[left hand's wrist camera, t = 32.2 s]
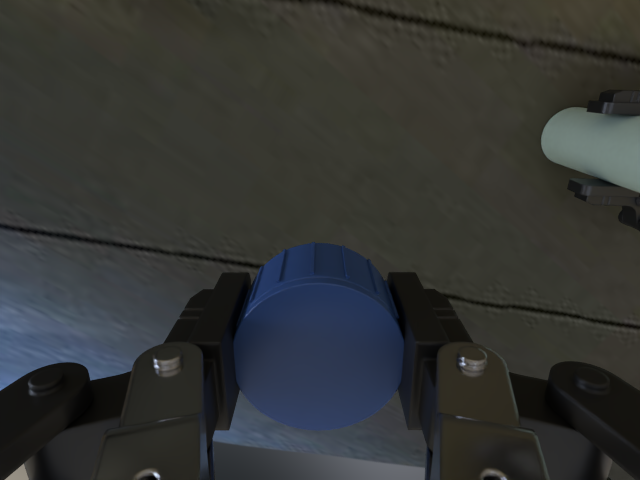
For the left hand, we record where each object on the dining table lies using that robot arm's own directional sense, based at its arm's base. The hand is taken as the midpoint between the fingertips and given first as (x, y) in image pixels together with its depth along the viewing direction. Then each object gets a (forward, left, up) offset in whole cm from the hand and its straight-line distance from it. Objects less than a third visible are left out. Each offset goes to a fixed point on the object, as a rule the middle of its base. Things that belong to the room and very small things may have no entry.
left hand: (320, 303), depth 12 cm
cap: (0, 0, +2) cm, 2 cm away
